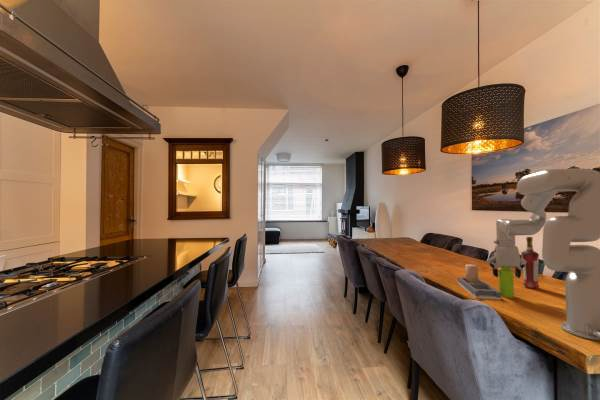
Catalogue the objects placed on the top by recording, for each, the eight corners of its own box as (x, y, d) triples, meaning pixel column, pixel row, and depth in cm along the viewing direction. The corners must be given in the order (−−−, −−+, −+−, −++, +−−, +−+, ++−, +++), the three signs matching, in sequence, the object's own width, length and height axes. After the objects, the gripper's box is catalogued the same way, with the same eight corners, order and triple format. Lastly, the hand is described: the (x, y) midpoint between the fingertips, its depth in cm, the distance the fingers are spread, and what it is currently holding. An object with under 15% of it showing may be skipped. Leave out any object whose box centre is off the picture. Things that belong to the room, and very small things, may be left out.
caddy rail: (501, 299, 129) (500, 275, 129) (475, 298, 131) (474, 274, 131) (478, 284, 154) (478, 263, 154) (457, 283, 156) (457, 262, 157)
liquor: (523, 284, 151) (521, 235, 152) (540, 287, 146) (539, 236, 146) (521, 287, 146) (519, 237, 147) (539, 290, 141) (537, 238, 141)
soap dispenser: (519, 298, 130) (517, 257, 131) (503, 297, 132) (501, 257, 132) (512, 294, 136) (510, 255, 136) (496, 293, 137) (495, 255, 138)
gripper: (489, 244, 133) (490, 278, 133) (530, 244, 129) (531, 279, 129) (483, 241, 140) (484, 274, 140) (521, 242, 136) (522, 275, 136)
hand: (506, 276), depth 134 cm, fingers open, 9 cm apart
